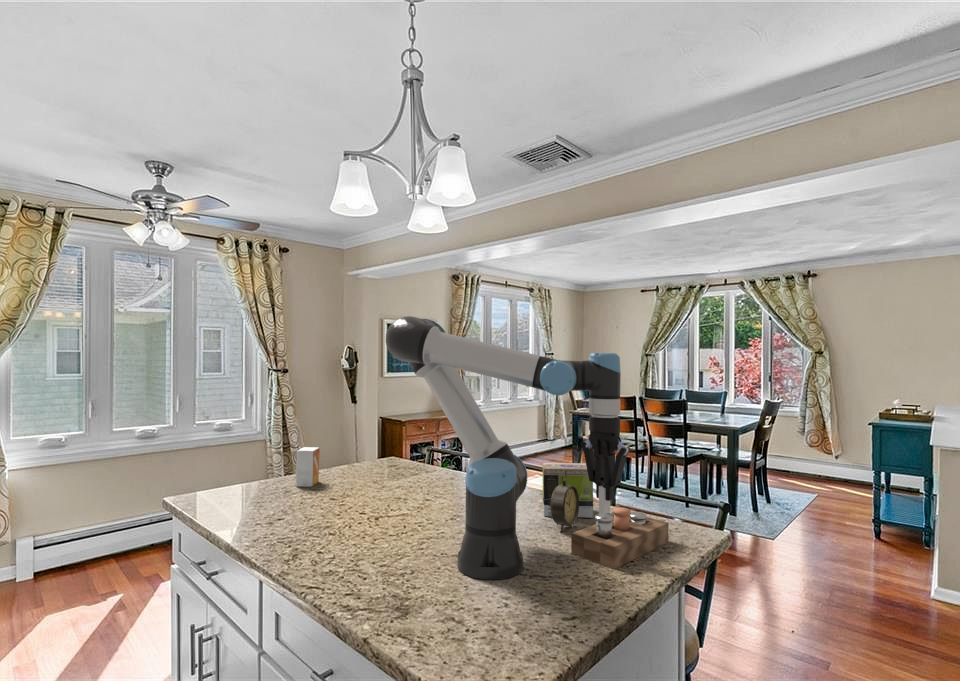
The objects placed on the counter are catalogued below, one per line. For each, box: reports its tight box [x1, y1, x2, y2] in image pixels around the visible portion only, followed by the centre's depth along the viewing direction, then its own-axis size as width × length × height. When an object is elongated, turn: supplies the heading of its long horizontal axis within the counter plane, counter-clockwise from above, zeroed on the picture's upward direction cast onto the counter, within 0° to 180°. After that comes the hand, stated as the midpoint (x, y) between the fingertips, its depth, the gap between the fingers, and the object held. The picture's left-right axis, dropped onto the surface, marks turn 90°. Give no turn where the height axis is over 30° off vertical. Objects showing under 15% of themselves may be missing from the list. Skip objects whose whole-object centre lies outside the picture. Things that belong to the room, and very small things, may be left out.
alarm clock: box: [550, 470, 579, 534], centre depth 144 cm, size 11×5×16 cm, turn 147°
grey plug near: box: [594, 513, 614, 540], centre depth 124 cm, size 4×4×5 cm
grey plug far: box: [629, 511, 648, 525], centre depth 135 cm, size 4×4×5 cm
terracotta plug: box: [612, 507, 632, 532], centre depth 130 cm, size 4×4×5 cm
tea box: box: [542, 462, 594, 519], centre depth 158 cm, size 15×10×15 cm
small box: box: [295, 446, 321, 488], centre depth 189 cm, size 8×6×13 cm
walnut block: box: [570, 516, 669, 570], centre depth 130 cm, size 26×12×5 cm, turn 133°
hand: (604, 512), depth 124 cm, fingers closed
